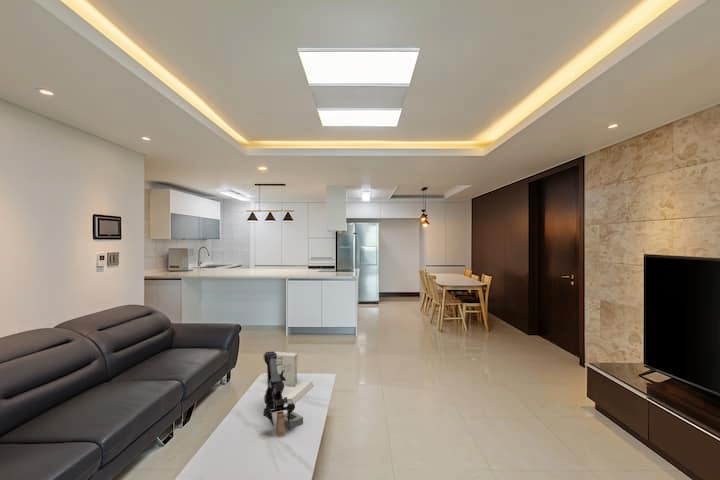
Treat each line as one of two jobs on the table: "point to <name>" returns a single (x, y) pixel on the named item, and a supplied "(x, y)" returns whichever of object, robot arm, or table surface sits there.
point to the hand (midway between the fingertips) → (280, 424)
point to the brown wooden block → (280, 423)
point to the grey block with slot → (293, 420)
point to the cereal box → (287, 368)
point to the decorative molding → (298, 392)
